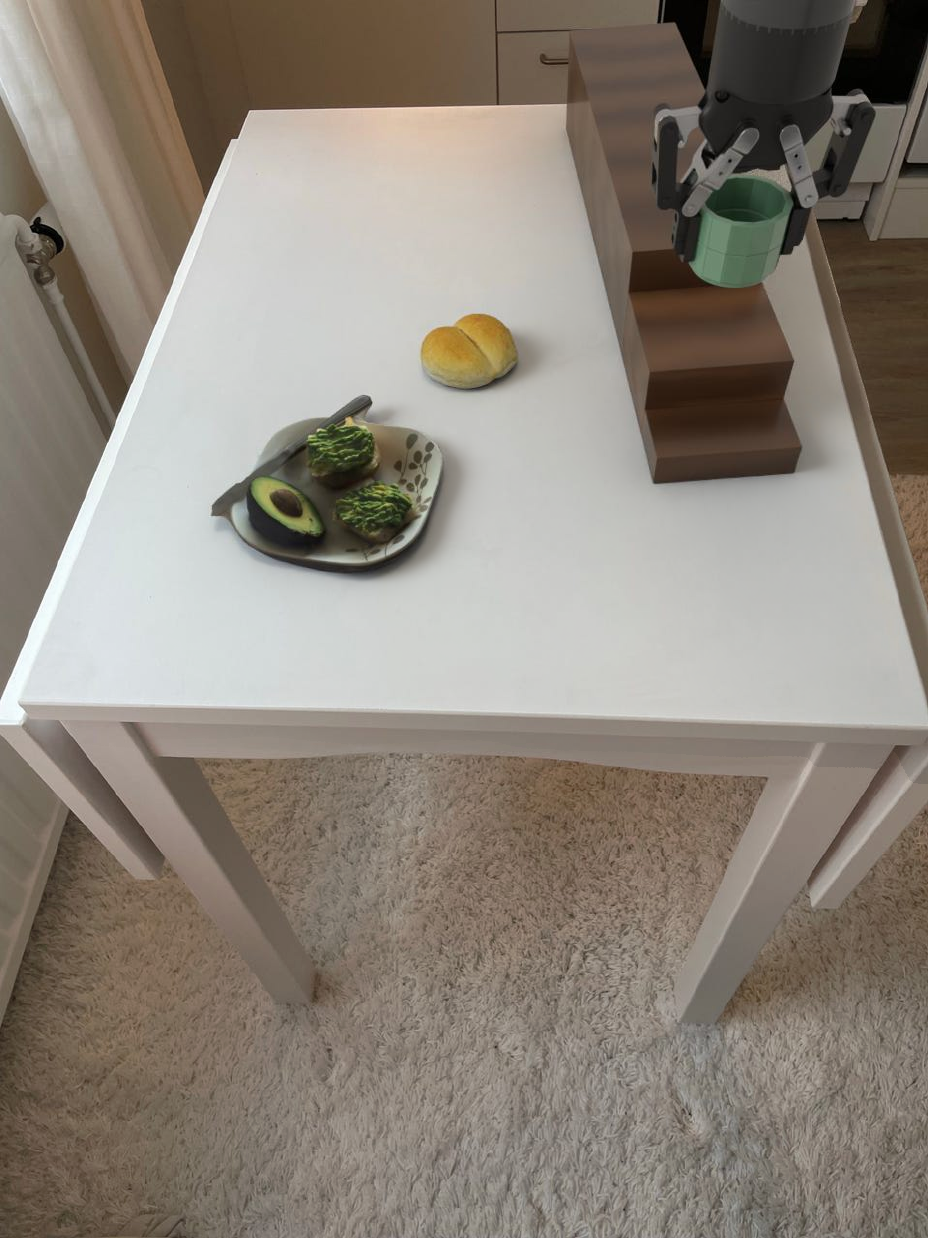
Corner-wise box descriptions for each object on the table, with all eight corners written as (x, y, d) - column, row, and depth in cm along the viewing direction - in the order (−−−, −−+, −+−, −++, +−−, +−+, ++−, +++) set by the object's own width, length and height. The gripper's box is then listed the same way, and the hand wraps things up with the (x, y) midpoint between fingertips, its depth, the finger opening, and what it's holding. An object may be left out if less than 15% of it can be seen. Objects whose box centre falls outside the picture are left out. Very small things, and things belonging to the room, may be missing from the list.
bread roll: (407, 357, 92) (403, 323, 89) (486, 325, 95) (485, 290, 91) (449, 405, 88) (446, 370, 85) (531, 370, 90) (532, 335, 87)
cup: (785, 248, 70) (802, 183, 66) (763, 299, 67) (780, 234, 63) (700, 230, 72) (711, 166, 68) (675, 279, 68) (685, 215, 64)
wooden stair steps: (794, 473, 81) (828, 368, 72) (652, 483, 81) (669, 380, 72) (663, 120, 117) (675, 21, 108) (565, 127, 117) (569, 30, 108)
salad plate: (287, 397, 90) (277, 357, 86) (470, 426, 86) (468, 385, 82) (199, 550, 79) (183, 512, 75) (404, 590, 75) (398, 552, 71)
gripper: (677, 32, 53) (643, 291, 66) (935, 13, 53) (848, 275, 66) (652, -24, 57) (625, 230, 71) (890, -42, 57) (817, 215, 71)
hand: (733, 251), depth 69 cm, fingers closed on cup, 6 cm apart
